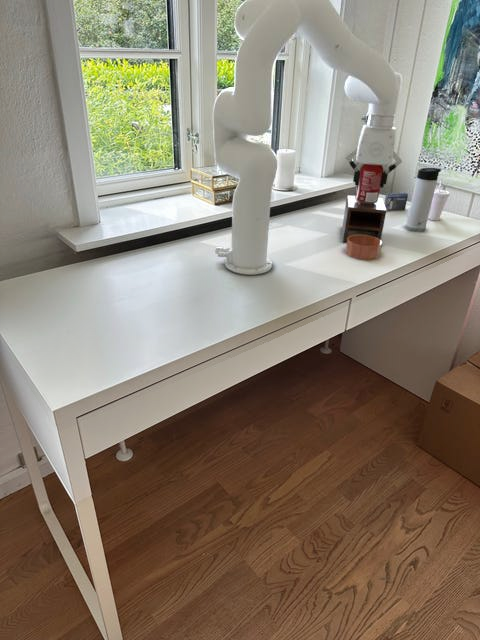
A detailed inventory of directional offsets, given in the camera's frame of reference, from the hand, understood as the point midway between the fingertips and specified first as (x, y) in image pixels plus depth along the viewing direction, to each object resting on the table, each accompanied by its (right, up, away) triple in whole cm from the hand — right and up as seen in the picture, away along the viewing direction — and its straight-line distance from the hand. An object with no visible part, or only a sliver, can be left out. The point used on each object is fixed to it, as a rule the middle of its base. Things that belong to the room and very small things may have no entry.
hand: (368, 185), depth 141 cm
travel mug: (+20, -10, +17) cm, 28 cm away
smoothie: (+30, -4, +27) cm, 41 cm away
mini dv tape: (+19, +1, +35) cm, 39 cm away
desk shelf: (-1, -14, +8) cm, 16 cm away
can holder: (-3, -21, -4) cm, 21 cm away
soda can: (0, -5, +3) cm, 5 cm away
